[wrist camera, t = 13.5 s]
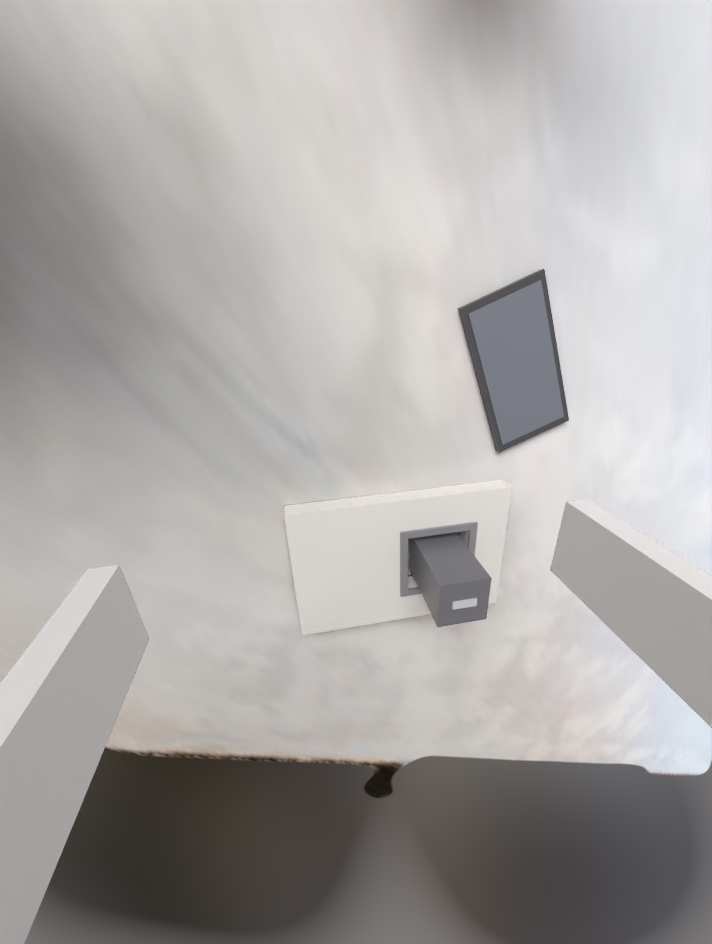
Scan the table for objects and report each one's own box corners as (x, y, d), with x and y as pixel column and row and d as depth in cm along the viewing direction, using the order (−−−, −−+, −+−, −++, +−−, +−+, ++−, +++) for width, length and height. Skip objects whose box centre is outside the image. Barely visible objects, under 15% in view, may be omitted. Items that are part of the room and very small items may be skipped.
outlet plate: (301, 622, 43) (301, 637, 41) (284, 505, 37) (283, 516, 34) (488, 592, 46) (497, 604, 44) (502, 479, 40) (513, 488, 38)
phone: (493, 448, 39) (499, 452, 37) (455, 308, 32) (461, 308, 31) (561, 417, 38) (569, 420, 37) (535, 270, 32) (544, 268, 31)
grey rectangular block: (409, 568, 42) (438, 628, 34) (410, 532, 40) (440, 587, 32) (449, 562, 43) (487, 620, 35) (451, 527, 41) (492, 579, 33)
